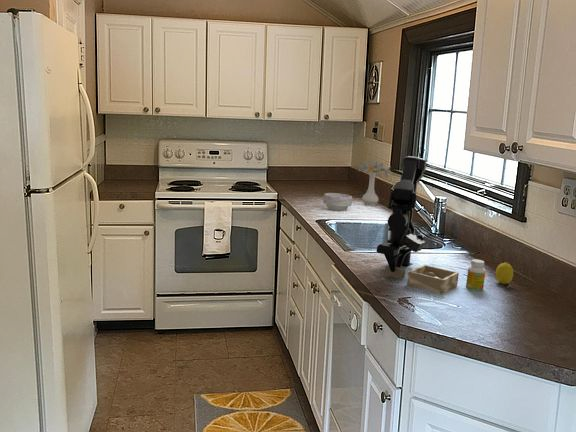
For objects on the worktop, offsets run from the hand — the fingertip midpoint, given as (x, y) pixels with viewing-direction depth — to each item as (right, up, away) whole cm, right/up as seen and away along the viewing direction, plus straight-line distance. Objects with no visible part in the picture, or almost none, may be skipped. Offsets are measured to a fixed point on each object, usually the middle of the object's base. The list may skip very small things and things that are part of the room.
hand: (395, 270), depth 199 cm
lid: (0, -4, +1) cm, 4 cm away
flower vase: (+11, +24, +139) cm, 142 cm away
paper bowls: (-10, +22, +119) cm, 121 cm away
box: (+11, -5, -6) cm, 13 cm away
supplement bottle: (+24, -6, -6) cm, 26 cm away
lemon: (+36, -5, +1) cm, 37 cm away
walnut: (+11, -3, -3) cm, 12 cm away
